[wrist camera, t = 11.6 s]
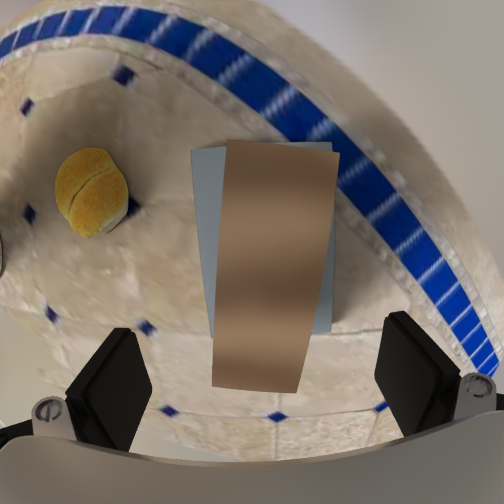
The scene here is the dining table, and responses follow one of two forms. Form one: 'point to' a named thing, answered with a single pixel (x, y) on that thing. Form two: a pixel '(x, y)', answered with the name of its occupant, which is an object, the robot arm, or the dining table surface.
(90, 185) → the bread roll
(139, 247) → the dining table surface
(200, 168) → the peg stand
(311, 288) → the brown wooden block
